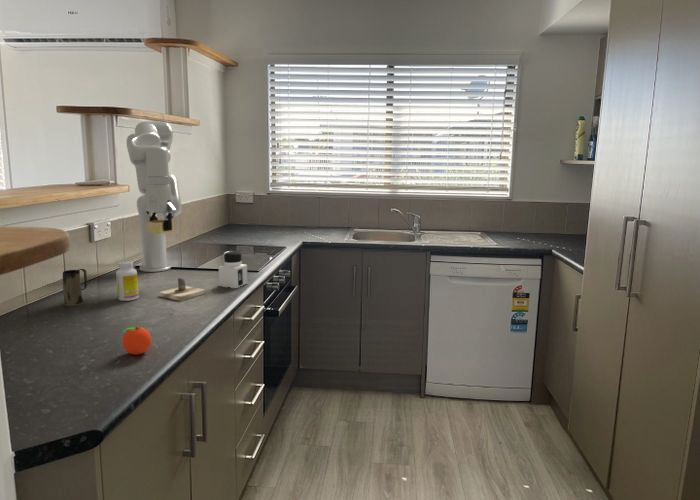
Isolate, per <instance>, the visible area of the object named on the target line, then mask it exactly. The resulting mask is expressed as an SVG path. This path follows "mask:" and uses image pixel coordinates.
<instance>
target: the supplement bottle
mask: <svg viewBox="0 0 700 500" xmlns="http://www.w3.org/2000/svg"><path fill="white" fill-rule="evenodd" d="M117 265H118V268H119V269H117V270H116V271H115V277H116V278H115V279H116V289H117V292H116V293H117V298H118V300H119V301H122V302H123V301H124V302H131V301H135V300H137V299H138V298H139V297H140V296H139V295H140V294H139V282H138V281H139V280H138V272H137V269H136V268H134V261H133V260H123V261H118V263H117Z"/></svg>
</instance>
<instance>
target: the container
mask: <svg viewBox="0 0 700 500" xmlns="http://www.w3.org/2000/svg"><path fill="white" fill-rule="evenodd" d="M242 261H243V260H242V252H241V251H238V250H228V251H225V252H224V253H223V264H222V265H220V266H218V285H219V287H221V286H222V288H228V287H230V289H235V288H236V289H238V288H241V287H243V285H244V286H245V284H246V285H248V264H243V263H242ZM240 286H241V287H240Z"/></svg>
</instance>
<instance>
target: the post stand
mask: <svg viewBox="0 0 700 500" xmlns="http://www.w3.org/2000/svg"><path fill="white" fill-rule="evenodd" d="M177 284H178V286H176V287H172V288H170V289H169V288H168V289H165V290H162V291H159V292H158V296H159V297H161V298H165V299H169V300H174V301H179V302H182V301H187V300H189V299H193V298H196V297H198V296H202V295H205V294H206V289H203V288H199V287H194V286H188V285H186V277H178V278H177Z"/></svg>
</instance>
